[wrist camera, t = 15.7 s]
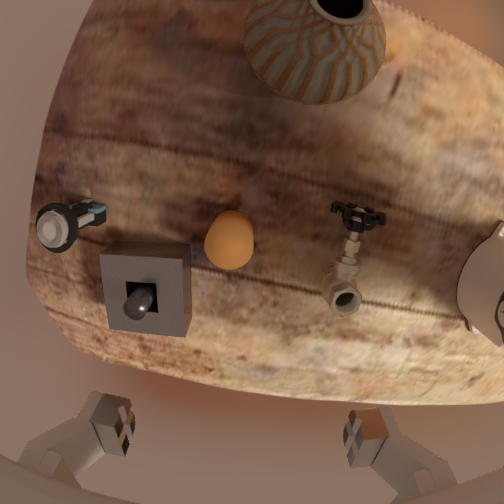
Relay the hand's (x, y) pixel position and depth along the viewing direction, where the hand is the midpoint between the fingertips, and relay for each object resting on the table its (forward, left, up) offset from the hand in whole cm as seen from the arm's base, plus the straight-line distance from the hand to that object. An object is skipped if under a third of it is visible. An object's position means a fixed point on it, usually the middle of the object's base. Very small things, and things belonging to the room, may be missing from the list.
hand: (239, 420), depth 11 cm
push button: (+21, -1, -29) cm, 36 cm away
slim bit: (+12, +8, -29) cm, 32 cm away
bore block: (+12, +8, -29) cm, 32 cm away
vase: (-5, -20, -29) cm, 36 cm away
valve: (-11, +3, -30) cm, 32 cm away
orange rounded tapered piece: (+2, +1, -29) cm, 29 cm away
